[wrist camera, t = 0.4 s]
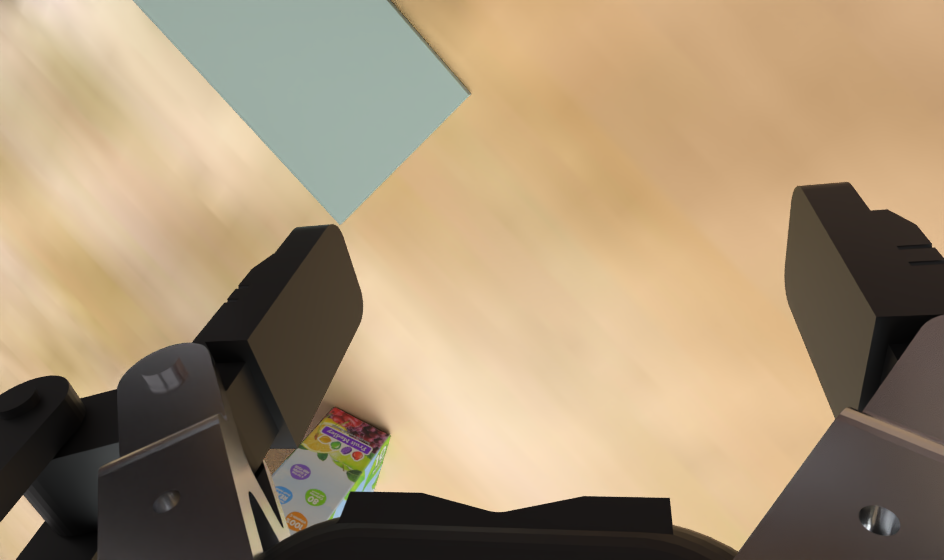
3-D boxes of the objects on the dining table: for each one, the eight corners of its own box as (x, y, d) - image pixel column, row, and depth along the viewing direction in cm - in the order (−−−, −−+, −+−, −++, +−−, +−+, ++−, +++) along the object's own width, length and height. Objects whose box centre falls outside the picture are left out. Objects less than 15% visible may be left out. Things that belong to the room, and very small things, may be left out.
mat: (207, -212, 32) (201, -214, 32) (471, 93, 35) (469, 95, 34) (112, -28, 38) (107, -28, 38) (342, 222, 41) (339, 224, 40)
